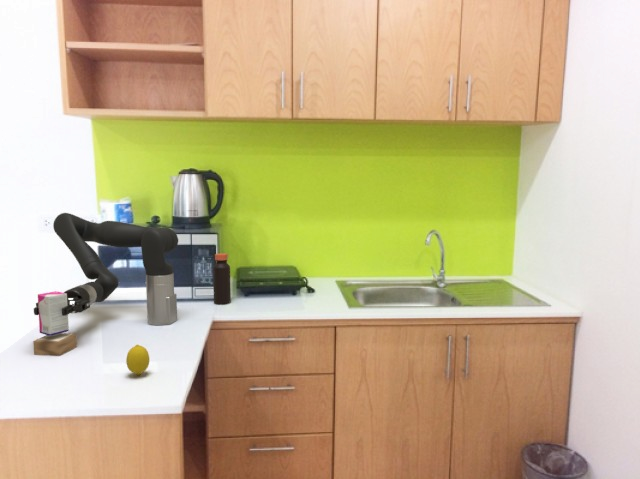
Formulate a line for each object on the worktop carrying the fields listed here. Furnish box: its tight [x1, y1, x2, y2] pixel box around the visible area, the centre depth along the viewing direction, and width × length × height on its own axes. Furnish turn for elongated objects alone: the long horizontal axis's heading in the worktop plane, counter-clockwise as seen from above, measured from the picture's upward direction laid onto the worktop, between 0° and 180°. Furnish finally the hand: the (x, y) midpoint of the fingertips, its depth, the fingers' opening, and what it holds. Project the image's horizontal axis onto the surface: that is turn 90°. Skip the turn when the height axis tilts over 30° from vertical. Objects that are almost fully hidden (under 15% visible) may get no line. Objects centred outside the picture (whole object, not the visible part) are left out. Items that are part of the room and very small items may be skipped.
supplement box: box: [37, 290, 70, 336], centre depth 147 cm, size 6×6×12 cm
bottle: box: [212, 252, 232, 305], centre depth 205 cm, size 7×7×20 cm
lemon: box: [125, 344, 150, 376], centre depth 129 cm, size 6×6×8 cm
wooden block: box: [32, 332, 78, 357], centre depth 148 cm, size 8×8×4 cm
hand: (49, 312), depth 145 cm, fingers closed on supplement box, 7 cm apart
